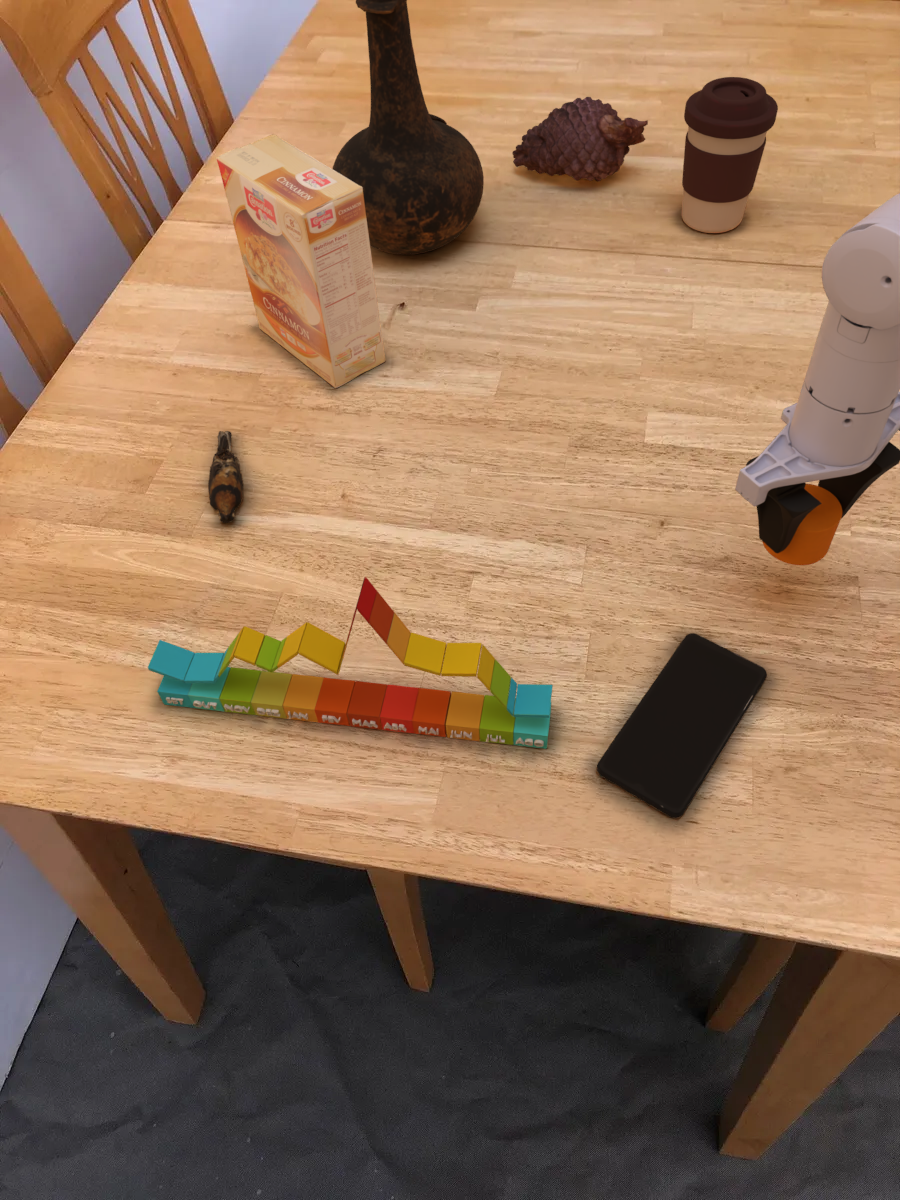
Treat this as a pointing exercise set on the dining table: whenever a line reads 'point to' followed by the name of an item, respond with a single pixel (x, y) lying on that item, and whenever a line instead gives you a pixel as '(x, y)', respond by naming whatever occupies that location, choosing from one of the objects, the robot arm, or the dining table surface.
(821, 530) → the mandarin
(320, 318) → the coffeecake box
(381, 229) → the dark brown vase
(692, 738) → the smartphone
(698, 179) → the coffee cup
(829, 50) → the dining table surface
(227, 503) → the bird model
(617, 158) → the pine cone
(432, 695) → the chart
